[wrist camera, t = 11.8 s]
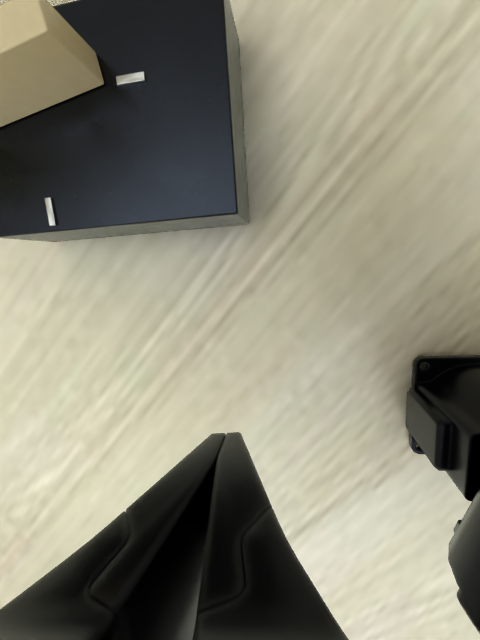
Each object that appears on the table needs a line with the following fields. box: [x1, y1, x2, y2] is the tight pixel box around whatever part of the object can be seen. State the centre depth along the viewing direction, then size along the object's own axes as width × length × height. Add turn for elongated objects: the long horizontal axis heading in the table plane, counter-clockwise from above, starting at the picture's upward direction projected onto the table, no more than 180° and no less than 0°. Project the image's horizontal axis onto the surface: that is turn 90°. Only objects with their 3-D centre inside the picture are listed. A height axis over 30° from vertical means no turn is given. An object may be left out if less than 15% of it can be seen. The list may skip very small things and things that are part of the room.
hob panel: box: [0, 0, 250, 242], centre depth 17 cm, size 16×12×5 cm
